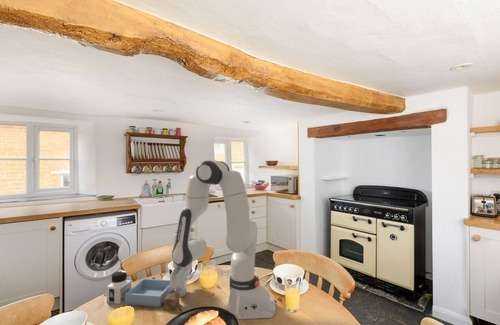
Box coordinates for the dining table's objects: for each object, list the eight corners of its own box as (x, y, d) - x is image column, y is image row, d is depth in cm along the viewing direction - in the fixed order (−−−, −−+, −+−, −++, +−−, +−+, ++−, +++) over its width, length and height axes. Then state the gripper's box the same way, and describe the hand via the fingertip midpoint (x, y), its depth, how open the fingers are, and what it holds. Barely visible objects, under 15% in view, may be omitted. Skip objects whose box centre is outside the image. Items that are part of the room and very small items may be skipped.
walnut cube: (179, 304, 115) (179, 293, 115) (174, 310, 110) (175, 299, 110) (169, 303, 115) (169, 293, 115) (164, 309, 110) (164, 298, 110)
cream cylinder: (187, 291, 126) (187, 278, 126) (184, 297, 121) (184, 283, 121) (178, 291, 126) (178, 277, 126) (174, 296, 121) (174, 282, 121)
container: (120, 304, 114) (120, 276, 114) (106, 302, 116) (106, 275, 116) (131, 295, 122) (131, 269, 122) (118, 293, 123) (118, 268, 123)
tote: (174, 289, 127) (174, 280, 128) (160, 307, 112) (160, 296, 112) (143, 287, 129) (143, 278, 130) (124, 304, 114) (124, 293, 114)
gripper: (179, 271, 113) (179, 300, 113) (194, 254, 133) (194, 279, 133) (166, 270, 114) (166, 299, 113) (183, 254, 134) (183, 279, 134)
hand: (181, 289), depth 123 cm, fingers closed on cream cylinder, 5 cm apart
